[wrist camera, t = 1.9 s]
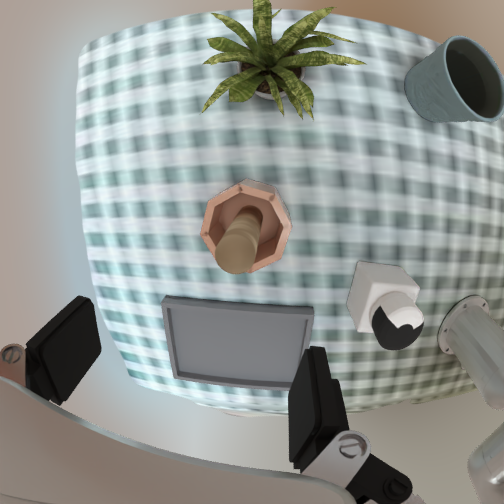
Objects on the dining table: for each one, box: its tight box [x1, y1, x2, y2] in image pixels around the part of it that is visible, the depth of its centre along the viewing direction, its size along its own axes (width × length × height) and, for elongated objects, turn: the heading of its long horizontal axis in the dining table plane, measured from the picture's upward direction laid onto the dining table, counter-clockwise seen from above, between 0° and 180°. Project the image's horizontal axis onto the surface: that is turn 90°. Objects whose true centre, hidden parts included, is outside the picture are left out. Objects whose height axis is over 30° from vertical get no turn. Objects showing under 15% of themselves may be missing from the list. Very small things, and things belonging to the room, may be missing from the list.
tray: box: [161, 295, 314, 391], centre depth 41 cm, size 22×16×2 cm
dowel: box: [215, 205, 263, 274], centre depth 28 cm, size 3×3×14 cm
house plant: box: [199, 0, 367, 121], centre depth 22 cm, size 14×14×16 cm
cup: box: [200, 178, 292, 273], centre depth 32 cm, size 9×9×7 cm
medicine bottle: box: [347, 261, 424, 350], centre depth 32 cm, size 7×7×12 cm
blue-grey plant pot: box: [404, 36, 504, 122], centre depth 21 cm, size 10×10×12 cm
